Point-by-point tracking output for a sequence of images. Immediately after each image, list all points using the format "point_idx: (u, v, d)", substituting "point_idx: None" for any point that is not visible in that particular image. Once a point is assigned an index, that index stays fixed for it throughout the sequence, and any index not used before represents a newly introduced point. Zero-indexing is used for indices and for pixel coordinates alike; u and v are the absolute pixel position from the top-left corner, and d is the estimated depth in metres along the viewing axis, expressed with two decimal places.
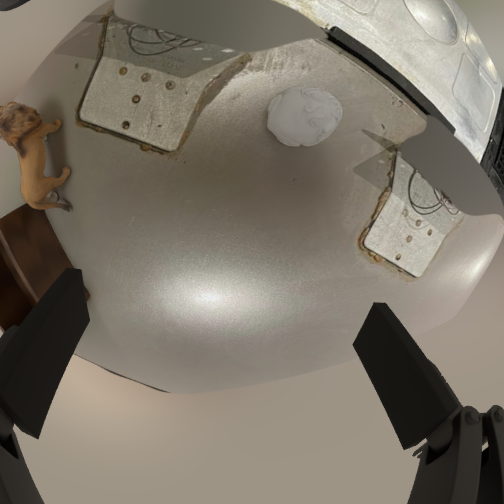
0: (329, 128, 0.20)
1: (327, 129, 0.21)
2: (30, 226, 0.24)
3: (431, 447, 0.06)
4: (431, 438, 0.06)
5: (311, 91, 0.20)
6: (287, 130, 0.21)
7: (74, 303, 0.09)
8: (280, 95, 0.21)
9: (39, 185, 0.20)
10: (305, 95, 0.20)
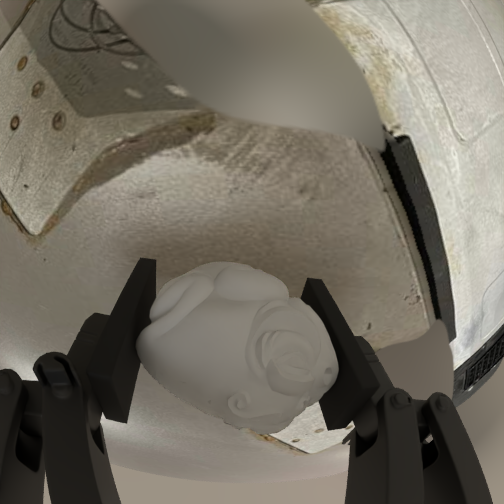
0: (267, 433, 0.08)
1: (262, 433, 0.08)
2: None
3: (358, 435, 0.07)
4: (357, 420, 0.07)
5: (283, 344, 0.07)
6: (170, 390, 0.08)
7: (151, 290, 0.11)
8: (197, 293, 0.08)
9: None
10: (257, 357, 0.07)
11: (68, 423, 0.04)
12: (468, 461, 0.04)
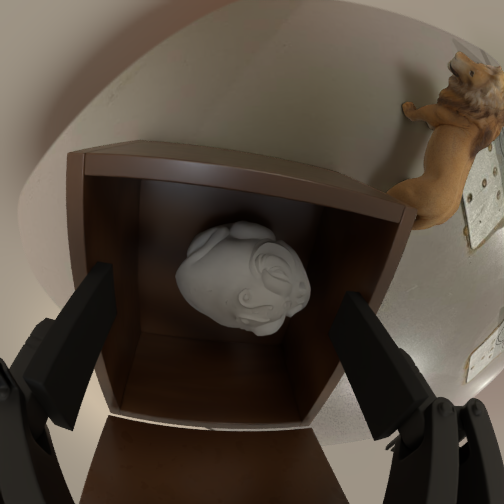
0: (264, 334, 0.13)
1: (260, 334, 0.13)
2: None
3: (403, 440, 0.07)
4: (402, 429, 0.07)
5: (271, 260, 0.12)
6: (198, 303, 0.13)
7: (106, 296, 0.10)
8: (219, 234, 0.13)
9: None
10: (256, 267, 0.12)
11: (8, 424, 0.03)
12: (494, 463, 0.03)
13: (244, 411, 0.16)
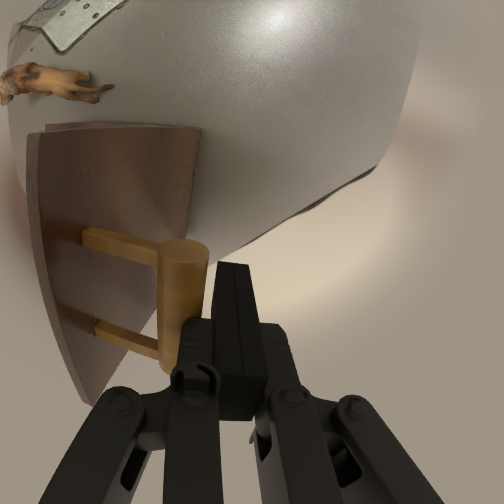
0: None
1: None
2: None
3: (260, 435, 0.07)
4: (256, 414, 0.07)
5: None
6: None
7: None
8: None
9: (66, 71, 0.18)
10: None
11: (200, 432, 0.05)
12: (405, 475, 0.04)
13: None
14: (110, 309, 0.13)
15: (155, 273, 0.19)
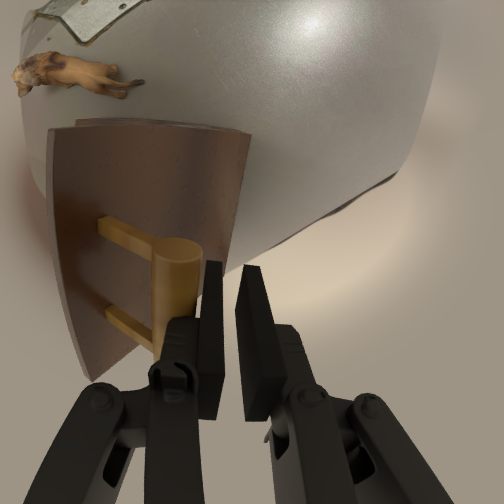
0: None
1: None
2: (119, 118, 0.23)
3: (276, 434, 0.07)
4: (272, 414, 0.07)
5: None
6: None
7: None
8: None
9: (96, 63, 0.18)
10: None
11: (179, 430, 0.05)
12: (416, 472, 0.04)
13: None
14: (125, 296, 0.14)
15: None
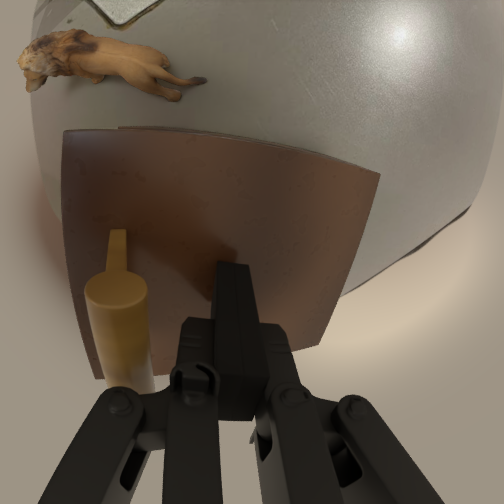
0: None
1: None
2: None
3: (260, 435, 0.07)
4: (256, 414, 0.07)
5: None
6: None
7: None
8: None
9: (146, 46, 0.13)
10: None
11: (199, 432, 0.05)
12: (405, 475, 0.04)
13: None
14: (149, 322, 0.13)
15: None
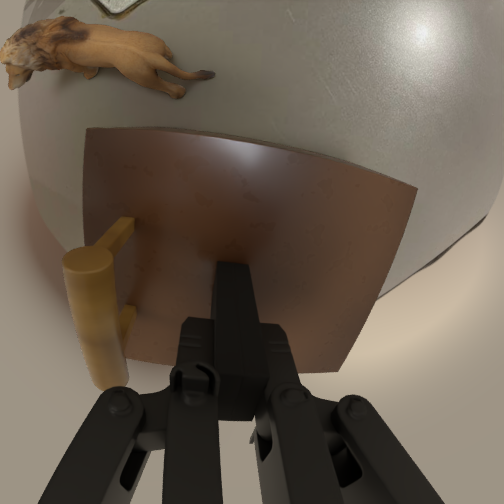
0: None
1: None
2: None
3: (260, 435, 0.07)
4: (256, 414, 0.07)
5: None
6: None
7: None
8: None
9: (145, 33, 0.10)
10: None
11: (199, 432, 0.05)
12: (405, 475, 0.04)
13: None
14: (153, 309, 0.14)
15: None
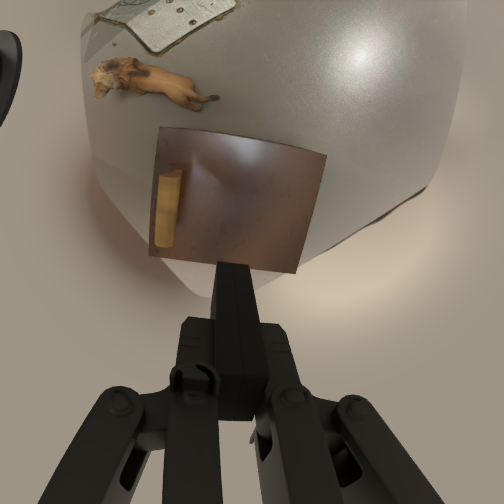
0: None
1: None
2: (202, 130, 0.28)
3: (260, 435, 0.07)
4: (256, 414, 0.07)
5: None
6: None
7: None
8: None
9: (182, 76, 0.23)
10: None
11: (199, 432, 0.05)
12: (405, 475, 0.04)
13: None
14: (186, 220, 0.27)
15: (244, 238, 0.28)
